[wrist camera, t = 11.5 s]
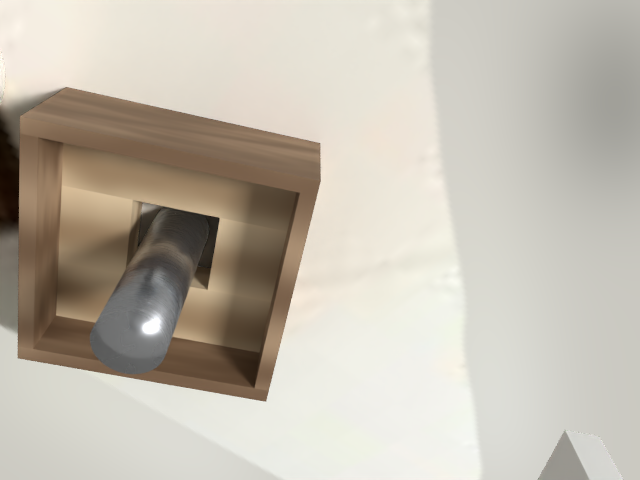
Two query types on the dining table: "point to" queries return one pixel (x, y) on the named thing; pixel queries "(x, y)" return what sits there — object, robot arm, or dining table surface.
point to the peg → (150, 294)
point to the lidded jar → (2, 76)
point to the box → (124, 222)
